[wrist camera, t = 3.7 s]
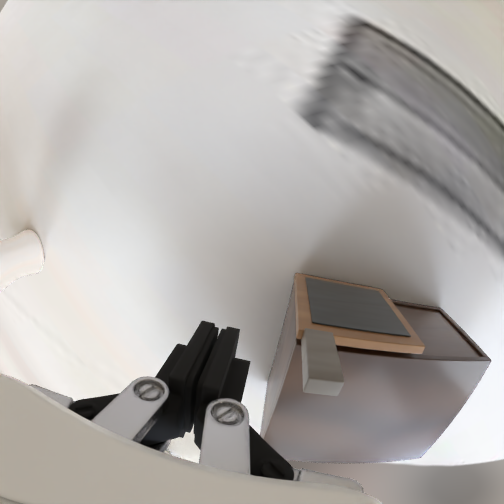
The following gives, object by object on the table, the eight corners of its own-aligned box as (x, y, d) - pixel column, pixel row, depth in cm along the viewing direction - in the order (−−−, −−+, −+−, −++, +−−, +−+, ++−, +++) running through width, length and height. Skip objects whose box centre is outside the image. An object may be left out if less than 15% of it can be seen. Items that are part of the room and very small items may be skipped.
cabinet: (294, 281, 24) (295, 344, 14) (441, 307, 23) (491, 360, 13) (267, 382, 27) (256, 456, 18) (397, 396, 26) (420, 458, 16)
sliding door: (295, 270, 23) (301, 376, 10) (383, 287, 23) (455, 385, 9) (293, 280, 23) (295, 391, 10) (380, 296, 23) (446, 398, 10)
